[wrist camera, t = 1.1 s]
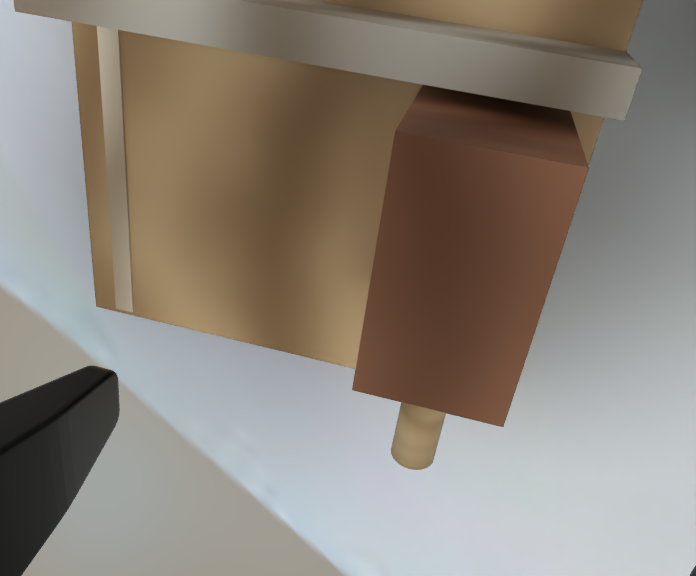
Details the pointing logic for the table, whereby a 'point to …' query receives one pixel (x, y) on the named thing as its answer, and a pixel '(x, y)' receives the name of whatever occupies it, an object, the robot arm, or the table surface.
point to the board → (293, 140)
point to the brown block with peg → (464, 258)
